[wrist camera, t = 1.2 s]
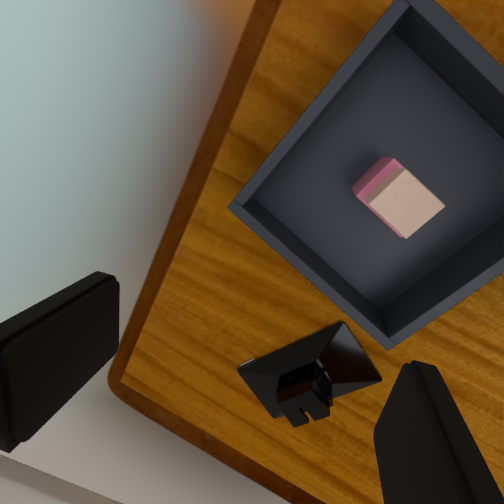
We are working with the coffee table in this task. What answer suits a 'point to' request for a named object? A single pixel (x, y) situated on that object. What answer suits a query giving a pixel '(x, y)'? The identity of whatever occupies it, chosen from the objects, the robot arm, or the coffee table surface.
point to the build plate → (310, 374)
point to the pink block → (396, 197)
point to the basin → (410, 157)
